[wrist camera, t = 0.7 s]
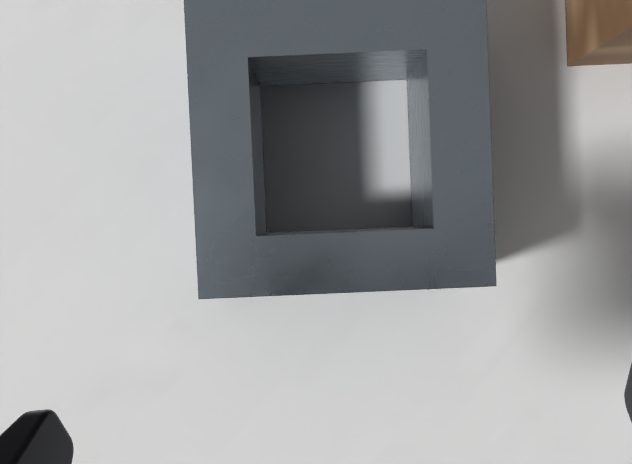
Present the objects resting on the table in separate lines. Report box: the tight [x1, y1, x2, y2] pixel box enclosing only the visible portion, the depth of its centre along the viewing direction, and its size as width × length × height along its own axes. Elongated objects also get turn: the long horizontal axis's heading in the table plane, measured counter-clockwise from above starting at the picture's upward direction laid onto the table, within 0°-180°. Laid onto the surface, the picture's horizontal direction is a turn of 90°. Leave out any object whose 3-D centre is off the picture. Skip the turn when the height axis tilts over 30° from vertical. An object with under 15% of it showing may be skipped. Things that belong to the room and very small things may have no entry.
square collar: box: [184, 0, 496, 299], centre depth 20 cm, size 9×9×4 cm
